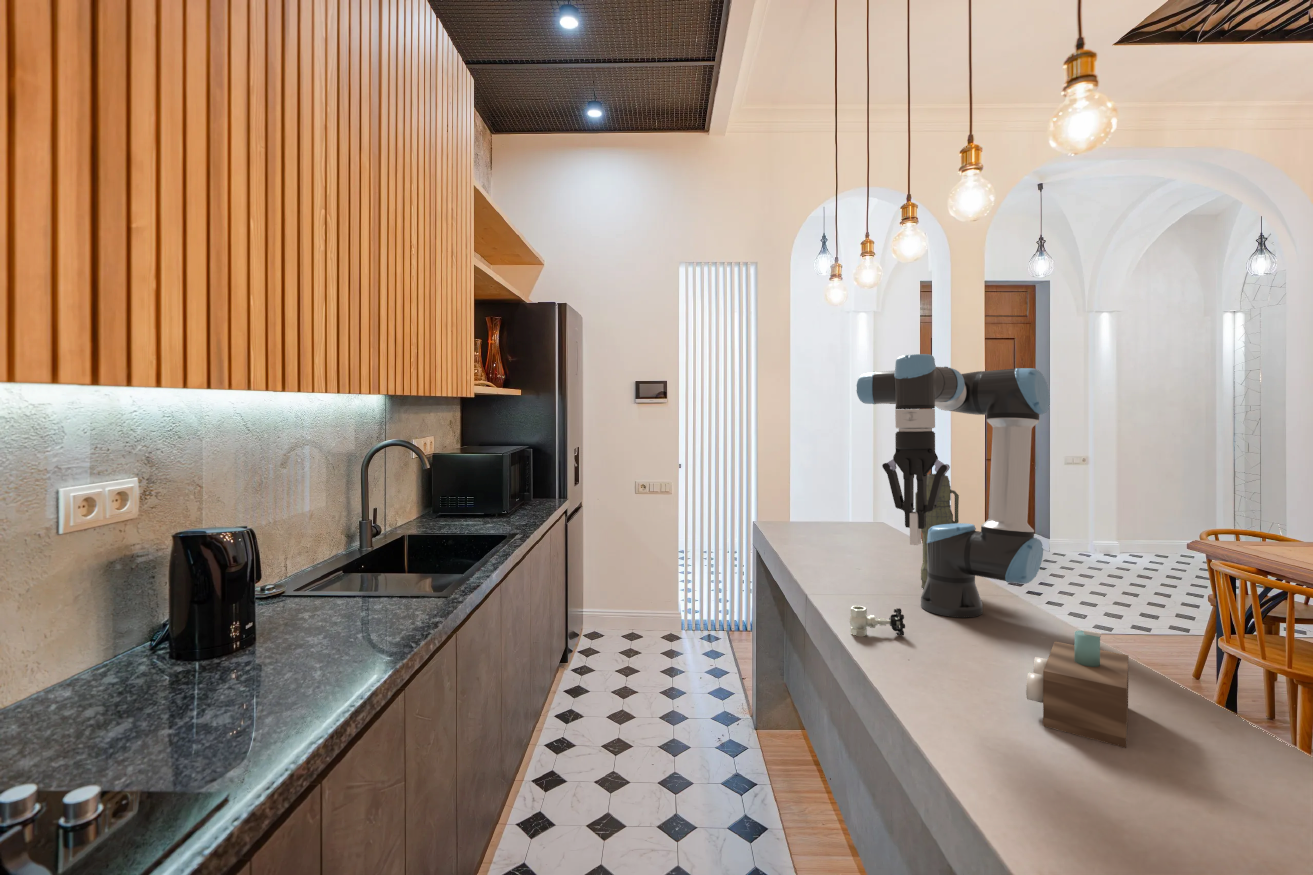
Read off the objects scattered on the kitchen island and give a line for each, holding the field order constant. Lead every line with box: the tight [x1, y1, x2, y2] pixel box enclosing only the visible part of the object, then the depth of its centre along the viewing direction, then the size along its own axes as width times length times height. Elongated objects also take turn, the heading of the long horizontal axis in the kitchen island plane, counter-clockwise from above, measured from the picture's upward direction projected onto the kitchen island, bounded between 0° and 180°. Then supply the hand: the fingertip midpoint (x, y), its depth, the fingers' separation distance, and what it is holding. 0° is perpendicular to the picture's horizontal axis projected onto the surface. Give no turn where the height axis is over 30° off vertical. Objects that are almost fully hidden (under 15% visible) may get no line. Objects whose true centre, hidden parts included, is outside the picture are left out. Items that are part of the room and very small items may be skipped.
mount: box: [1042, 641, 1129, 749], centre depth 103 cm, size 16×11×10 cm, turn 141°
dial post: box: [1074, 629, 1102, 667], centre depth 103 cm, size 4×4×6 cm
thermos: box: [914, 473, 960, 590], centre depth 180 cm, size 9×12×35 cm
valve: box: [849, 605, 906, 637], centre depth 144 cm, size 7×7×12 cm
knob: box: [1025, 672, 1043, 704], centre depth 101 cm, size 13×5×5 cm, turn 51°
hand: (915, 543), depth 123 cm, fingers closed
